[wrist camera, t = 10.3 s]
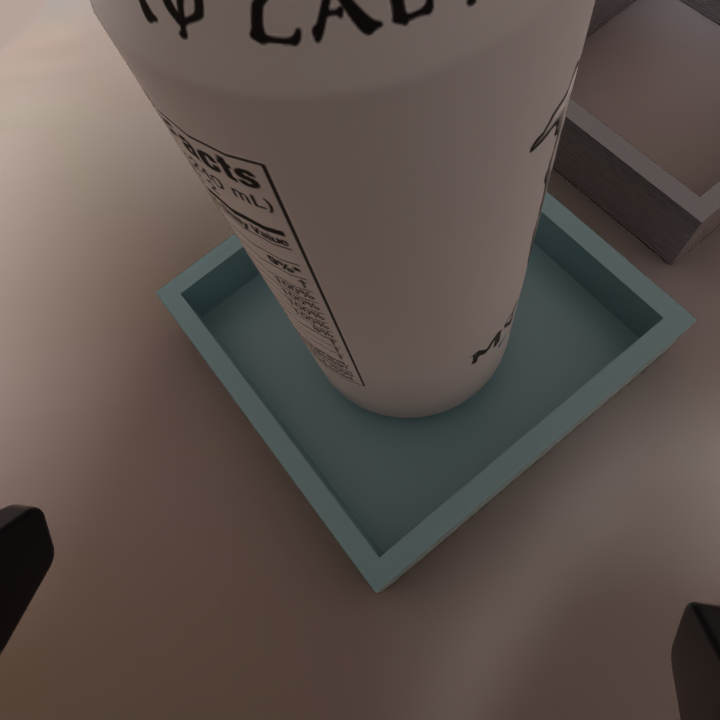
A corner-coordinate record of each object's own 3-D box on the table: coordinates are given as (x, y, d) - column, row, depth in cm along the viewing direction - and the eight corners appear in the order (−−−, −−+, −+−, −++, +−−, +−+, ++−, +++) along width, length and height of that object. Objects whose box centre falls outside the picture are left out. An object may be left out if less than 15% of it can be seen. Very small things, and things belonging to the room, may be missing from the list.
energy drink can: (523, 412, 18) (807, -194, 4) (324, 437, 18) (-87, -3, 4) (489, 237, 20) (585, -575, 6) (312, 265, 20) (8, -411, 6)
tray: (668, 349, 18) (697, 319, 16) (384, 590, 17) (375, 592, 15) (429, 136, 22) (427, 89, 20) (185, 321, 21) (155, 292, 19)
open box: (868, 101, 20) (924, 38, 18) (670, 265, 19) (701, 223, 17) (655, -33, 23) (678, -100, 21) (476, 103, 22) (479, 48, 20)
